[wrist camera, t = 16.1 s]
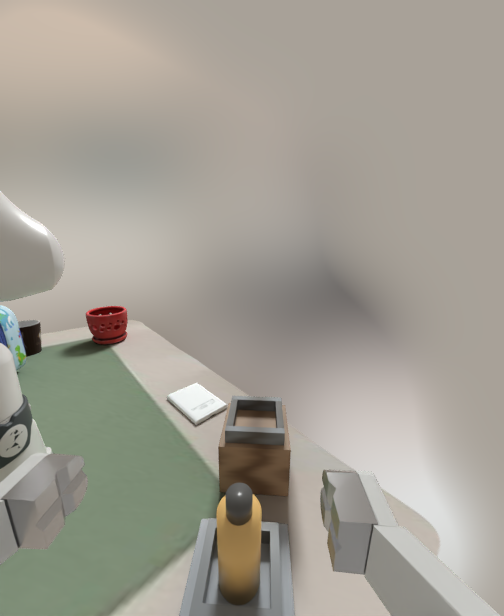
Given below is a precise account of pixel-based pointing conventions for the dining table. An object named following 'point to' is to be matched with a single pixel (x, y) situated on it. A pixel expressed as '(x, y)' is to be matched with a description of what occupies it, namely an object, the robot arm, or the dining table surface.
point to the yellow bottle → (239, 544)
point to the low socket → (273, 576)
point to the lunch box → (12, 336)
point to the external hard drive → (196, 403)
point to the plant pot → (107, 324)
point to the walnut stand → (255, 446)
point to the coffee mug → (31, 336)
